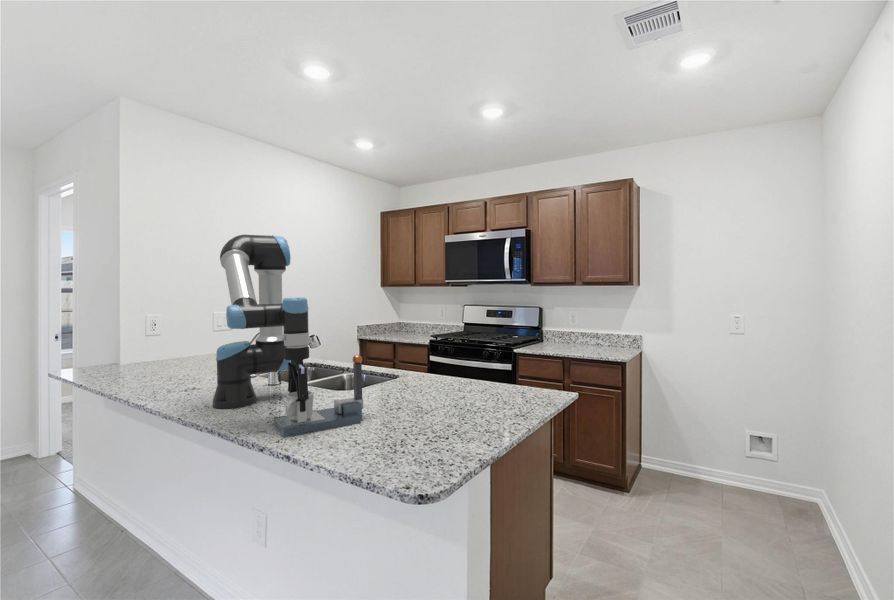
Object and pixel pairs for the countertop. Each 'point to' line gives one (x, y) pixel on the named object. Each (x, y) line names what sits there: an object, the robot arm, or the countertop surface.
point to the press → (320, 420)
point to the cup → (292, 405)
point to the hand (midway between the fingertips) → (298, 418)
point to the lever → (357, 386)
